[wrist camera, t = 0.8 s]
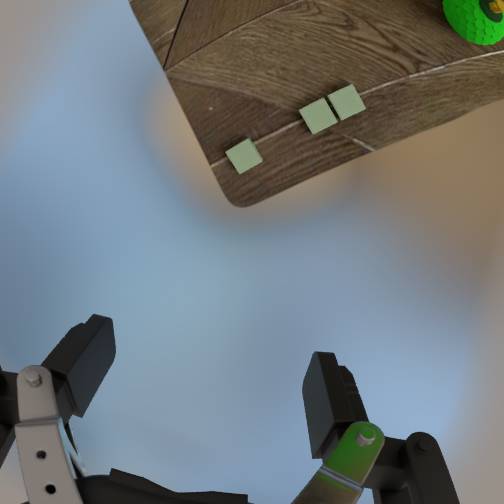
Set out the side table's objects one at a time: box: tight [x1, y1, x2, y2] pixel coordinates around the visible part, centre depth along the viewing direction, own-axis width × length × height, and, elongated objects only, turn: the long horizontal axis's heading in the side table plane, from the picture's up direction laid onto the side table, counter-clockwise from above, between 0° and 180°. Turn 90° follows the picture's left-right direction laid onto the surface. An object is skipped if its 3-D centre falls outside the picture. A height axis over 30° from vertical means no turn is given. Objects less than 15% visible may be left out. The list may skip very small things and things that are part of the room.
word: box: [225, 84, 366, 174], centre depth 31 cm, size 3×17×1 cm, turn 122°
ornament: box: [442, 0, 504, 45], centre depth 16 cm, size 8×8×10 cm
